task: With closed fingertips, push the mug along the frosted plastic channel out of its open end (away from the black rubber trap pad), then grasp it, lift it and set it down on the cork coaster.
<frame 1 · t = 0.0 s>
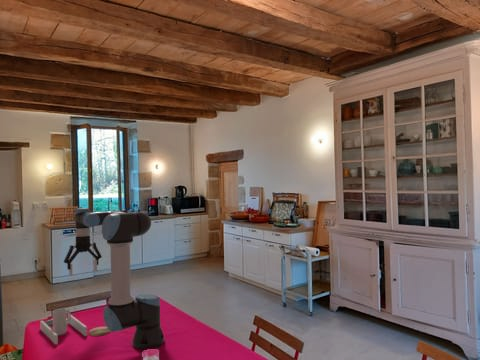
hand: (83, 273, 212), 28 cm above the table, fingers open, 13 cm apart
channel: (63, 332, 198), on the table
coaster: (100, 331, 198), on the table
trap pad: (52, 322, 212), on the table
mug: (62, 332, 199), on the table
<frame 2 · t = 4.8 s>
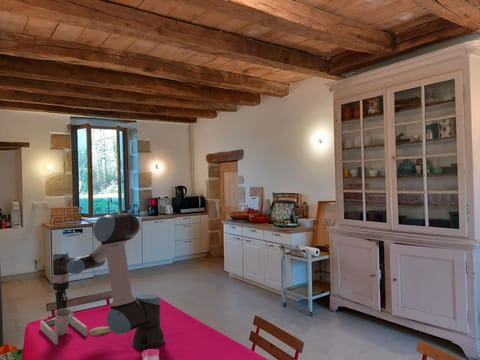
hand: (61, 325, 200), 3 cm above the table, fingers closed
mug: (63, 330, 198), point 1 cm above the table, touching gripper, hand
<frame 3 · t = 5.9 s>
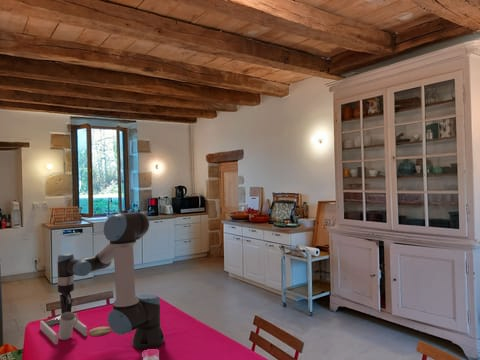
hand: (66, 328, 195), 3 cm above the table, fingers closed
mug: (67, 334, 193), point 1 cm above the table, touching gripper, hand
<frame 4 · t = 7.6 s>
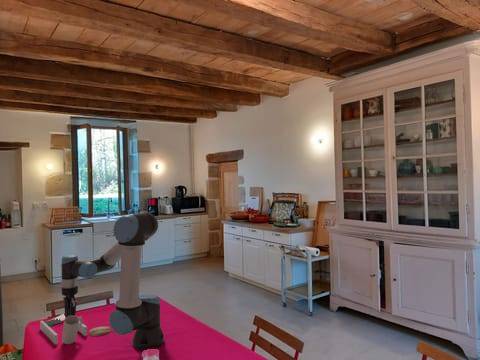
hand: (70, 332, 190), 3 cm above the table, fingers closed
mug: (71, 338, 188), point 1 cm above the table, touching gripper, hand
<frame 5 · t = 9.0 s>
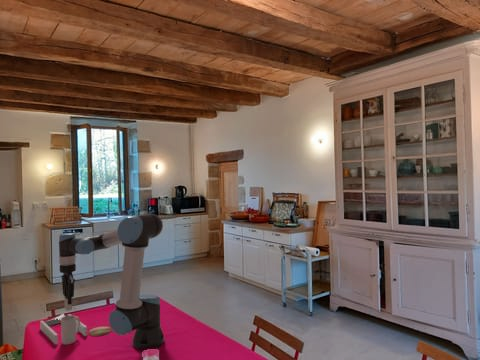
hand: (68, 309, 191), 14 cm above the table, fingers closed
mug: (71, 340, 188), on the table
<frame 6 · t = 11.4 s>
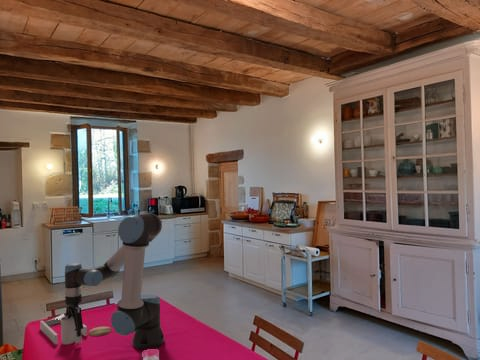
hand: (74, 338, 186), 2 cm above the table, fingers open, 11 cm apart
mug: (71, 340, 188), on the table, touching gripper
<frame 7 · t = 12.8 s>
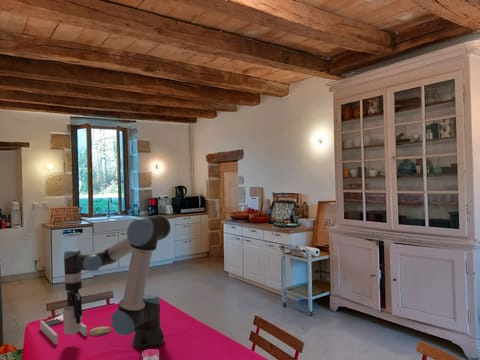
hand: (75, 327, 185), 7 cm above the table, fingers closed on mug, 6 cm apart
mug: (74, 331, 186), point 6 cm above the table, touching gripper
when the fingers open (2 cm above the table, at t = 16.7 s): mug stays where it is, resting on coaster.
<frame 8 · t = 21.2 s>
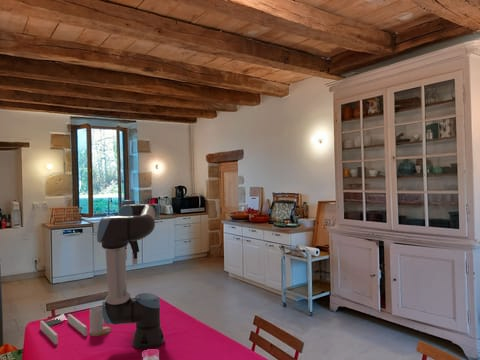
hand: (129, 262, 220), 32 cm above the table, fingers open, 13 cm apart
mug: (99, 330, 199), resting on coaster
at the end: mug 0.6 cm from the coaster (horizontally); mug tilted 0°; the gripper is holding nothing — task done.
